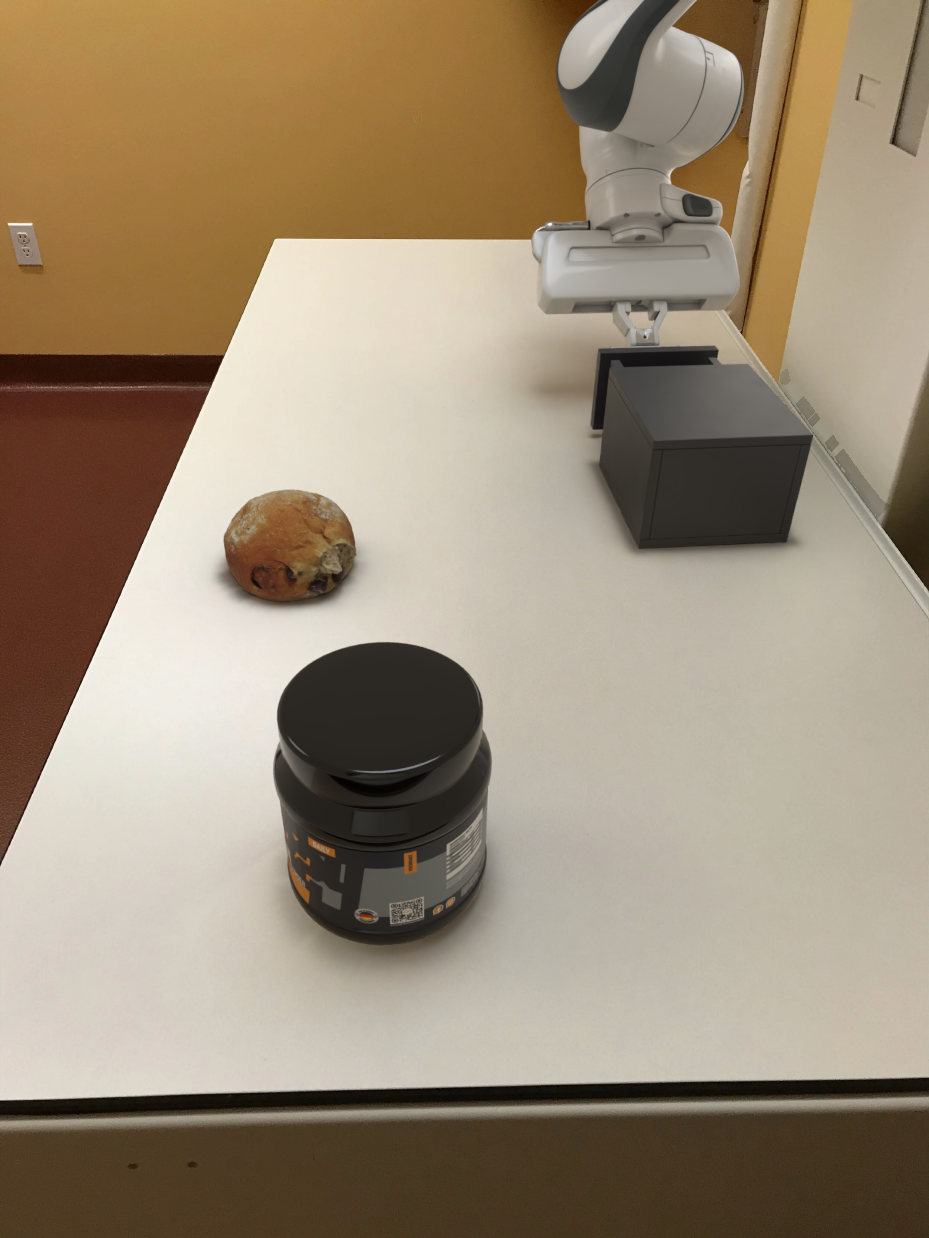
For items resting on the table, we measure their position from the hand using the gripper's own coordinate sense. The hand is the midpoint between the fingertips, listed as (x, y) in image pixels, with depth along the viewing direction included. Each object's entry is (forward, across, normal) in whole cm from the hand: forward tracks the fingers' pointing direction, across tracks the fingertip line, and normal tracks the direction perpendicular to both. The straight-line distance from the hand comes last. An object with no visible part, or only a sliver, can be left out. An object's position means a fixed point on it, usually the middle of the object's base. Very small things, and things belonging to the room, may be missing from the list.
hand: (643, 349), depth 95 cm
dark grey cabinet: (+18, 0, -8) cm, 20 cm away
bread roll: (+24, -34, -14) cm, 44 cm away
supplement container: (+45, -28, -35) cm, 64 cm away
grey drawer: (+11, 0, -2) cm, 11 cm away
